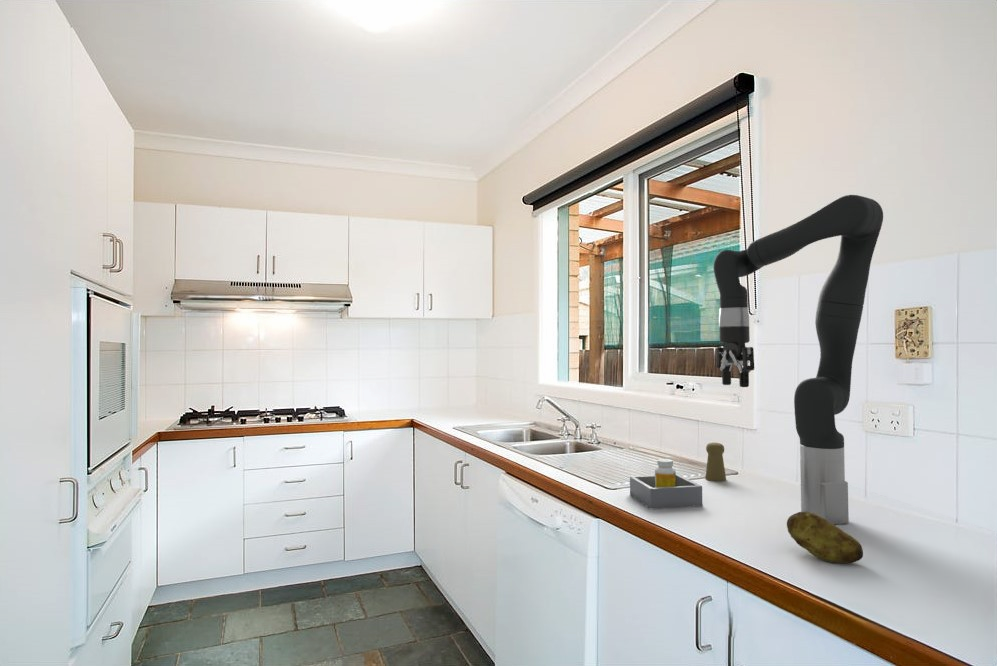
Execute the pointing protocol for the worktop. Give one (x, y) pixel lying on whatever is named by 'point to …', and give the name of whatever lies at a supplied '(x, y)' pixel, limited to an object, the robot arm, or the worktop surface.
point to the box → (666, 492)
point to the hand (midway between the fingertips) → (735, 385)
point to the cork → (715, 463)
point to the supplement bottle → (665, 474)
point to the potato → (823, 538)
